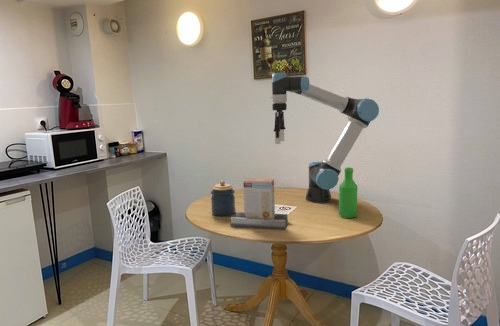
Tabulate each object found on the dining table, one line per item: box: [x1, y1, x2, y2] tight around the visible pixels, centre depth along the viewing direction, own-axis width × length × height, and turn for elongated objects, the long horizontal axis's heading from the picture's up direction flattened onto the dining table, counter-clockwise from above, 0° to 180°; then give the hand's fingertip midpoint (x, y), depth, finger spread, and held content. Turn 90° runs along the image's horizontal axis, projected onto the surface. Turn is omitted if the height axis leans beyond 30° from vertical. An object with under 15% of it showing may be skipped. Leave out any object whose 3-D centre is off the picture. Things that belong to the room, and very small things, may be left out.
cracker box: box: [242, 178, 276, 220], centre depth 166 cm, size 14×6×21 cm, turn 73°
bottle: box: [338, 167, 358, 219], centre depth 174 cm, size 9×9×25 cm
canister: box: [210, 180, 236, 217], centre depth 185 cm, size 13×13×18 cm
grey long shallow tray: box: [230, 211, 289, 231], centre depth 167 cm, size 26×12×4 cm, turn 76°
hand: (279, 142), depth 187 cm, fingers open, 13 cm apart
